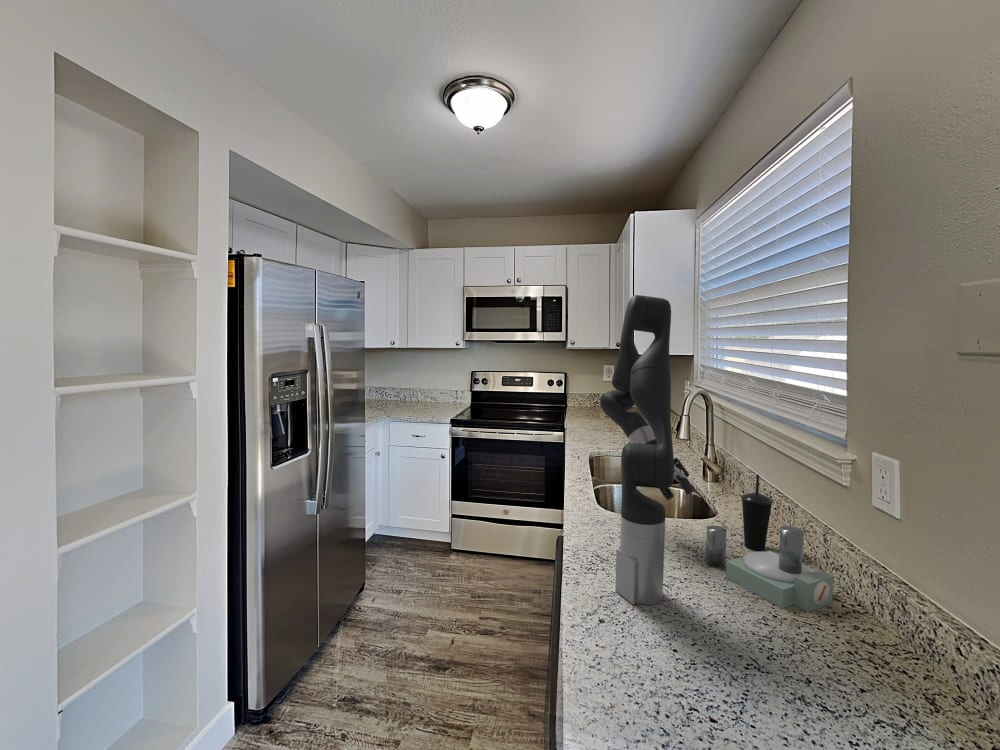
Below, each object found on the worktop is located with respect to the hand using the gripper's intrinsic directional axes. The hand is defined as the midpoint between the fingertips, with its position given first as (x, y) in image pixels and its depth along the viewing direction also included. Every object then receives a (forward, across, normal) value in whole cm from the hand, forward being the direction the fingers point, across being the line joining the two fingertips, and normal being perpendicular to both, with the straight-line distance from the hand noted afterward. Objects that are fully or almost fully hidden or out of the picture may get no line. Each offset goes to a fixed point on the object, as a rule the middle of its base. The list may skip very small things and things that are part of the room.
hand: (681, 495), depth 125 cm
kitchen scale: (+28, +1, -8) cm, 30 cm away
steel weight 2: (+26, +2, -12) cm, 29 cm away
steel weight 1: (+18, 0, +3) cm, 18 cm away
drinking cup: (+18, +18, +3) cm, 26 cm away
